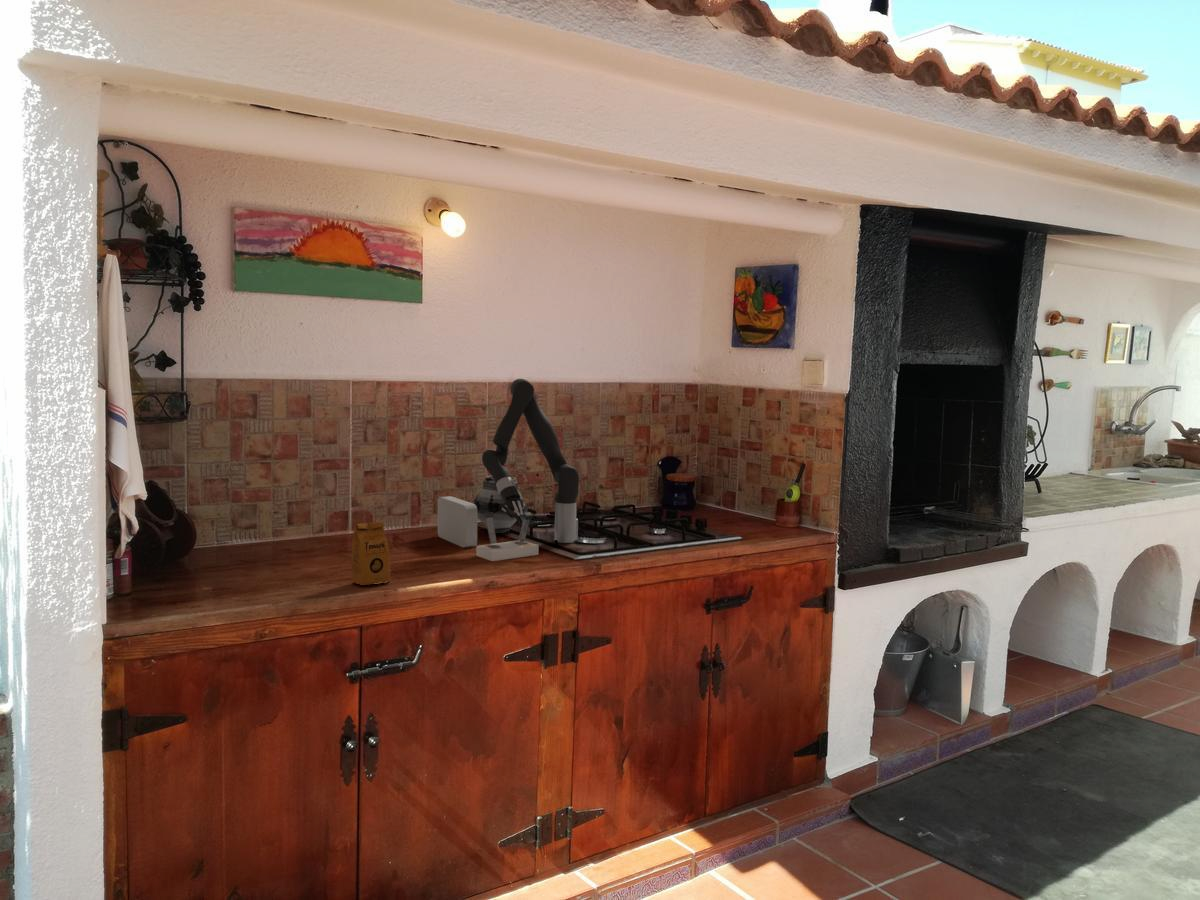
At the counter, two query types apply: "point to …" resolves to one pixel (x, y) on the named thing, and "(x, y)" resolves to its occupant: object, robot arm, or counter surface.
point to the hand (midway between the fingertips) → (523, 524)
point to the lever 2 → (525, 525)
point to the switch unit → (507, 550)
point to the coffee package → (370, 554)
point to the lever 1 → (490, 527)
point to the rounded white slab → (457, 521)
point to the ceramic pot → (493, 505)
